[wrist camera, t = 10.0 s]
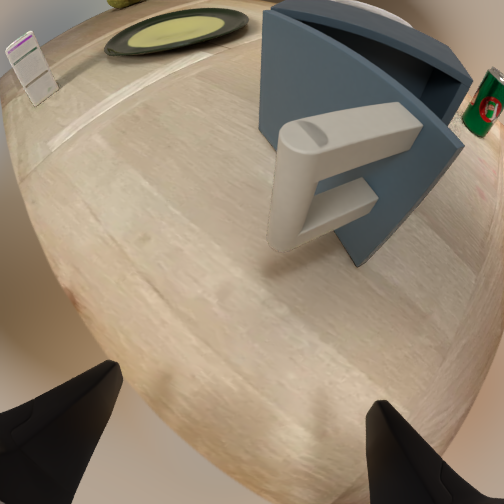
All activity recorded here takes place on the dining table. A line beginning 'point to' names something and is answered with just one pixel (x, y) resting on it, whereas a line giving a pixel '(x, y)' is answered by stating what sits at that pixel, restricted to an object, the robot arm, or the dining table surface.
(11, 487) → the robot arm
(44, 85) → the syrup box
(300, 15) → the cabinet
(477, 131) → the soda can
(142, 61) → the dining table surface
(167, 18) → the plate
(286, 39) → the cabinet door
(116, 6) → the fruit
